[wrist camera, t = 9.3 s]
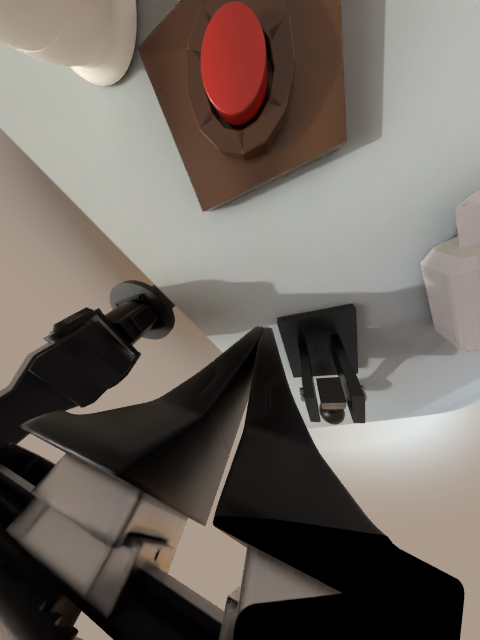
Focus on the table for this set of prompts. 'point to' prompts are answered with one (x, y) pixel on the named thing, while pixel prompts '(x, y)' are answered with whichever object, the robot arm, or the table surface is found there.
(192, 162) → the button block
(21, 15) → the jar
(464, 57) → the table surface
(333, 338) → the black lever mechanism
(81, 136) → the table surface
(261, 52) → the button
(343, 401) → the lever
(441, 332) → the charger
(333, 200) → the table surface
